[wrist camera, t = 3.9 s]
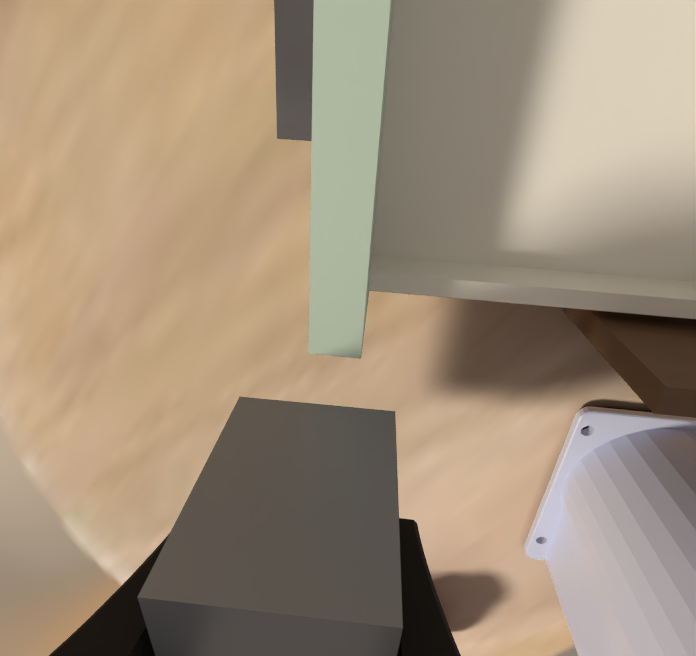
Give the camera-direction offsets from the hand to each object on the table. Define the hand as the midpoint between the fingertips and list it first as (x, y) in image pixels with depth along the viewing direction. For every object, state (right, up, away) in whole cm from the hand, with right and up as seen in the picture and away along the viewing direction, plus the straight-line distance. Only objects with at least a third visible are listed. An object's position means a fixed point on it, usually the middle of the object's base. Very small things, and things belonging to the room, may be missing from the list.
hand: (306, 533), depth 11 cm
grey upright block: (0, +1, +1) cm, 2 cm away
